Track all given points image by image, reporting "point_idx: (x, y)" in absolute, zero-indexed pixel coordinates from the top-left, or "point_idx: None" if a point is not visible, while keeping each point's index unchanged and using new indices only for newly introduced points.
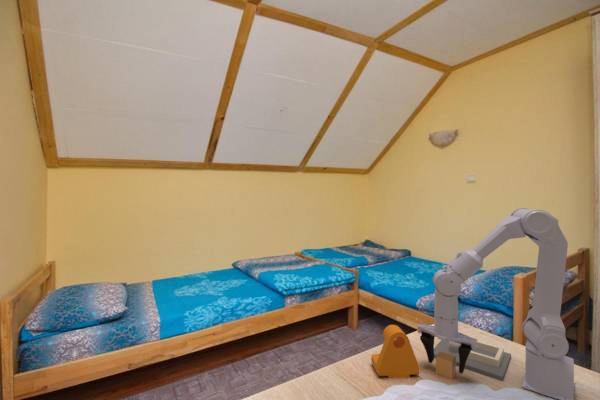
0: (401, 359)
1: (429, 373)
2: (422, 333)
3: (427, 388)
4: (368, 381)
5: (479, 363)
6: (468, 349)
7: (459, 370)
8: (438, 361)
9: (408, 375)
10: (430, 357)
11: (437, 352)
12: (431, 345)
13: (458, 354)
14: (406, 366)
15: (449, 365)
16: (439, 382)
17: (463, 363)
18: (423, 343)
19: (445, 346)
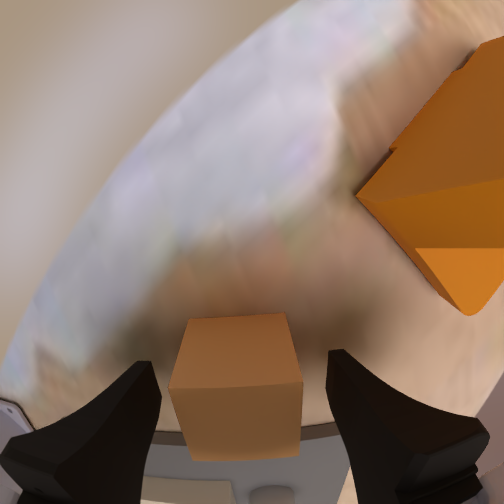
0: (495, 101)
1: (312, 280)
2: (472, 484)
3: (257, 105)
4: (478, 11)
5: (154, 471)
6: (13, 477)
7: (141, 367)
8: (276, 362)
9: (399, 143)
10: (342, 368)
11: (329, 453)
12: (365, 450)
13: (246, 484)
14: (441, 129)
15: (192, 365)
16: (226, 227)
17: (95, 399)
18: (437, 414)
19: (311, 493)
